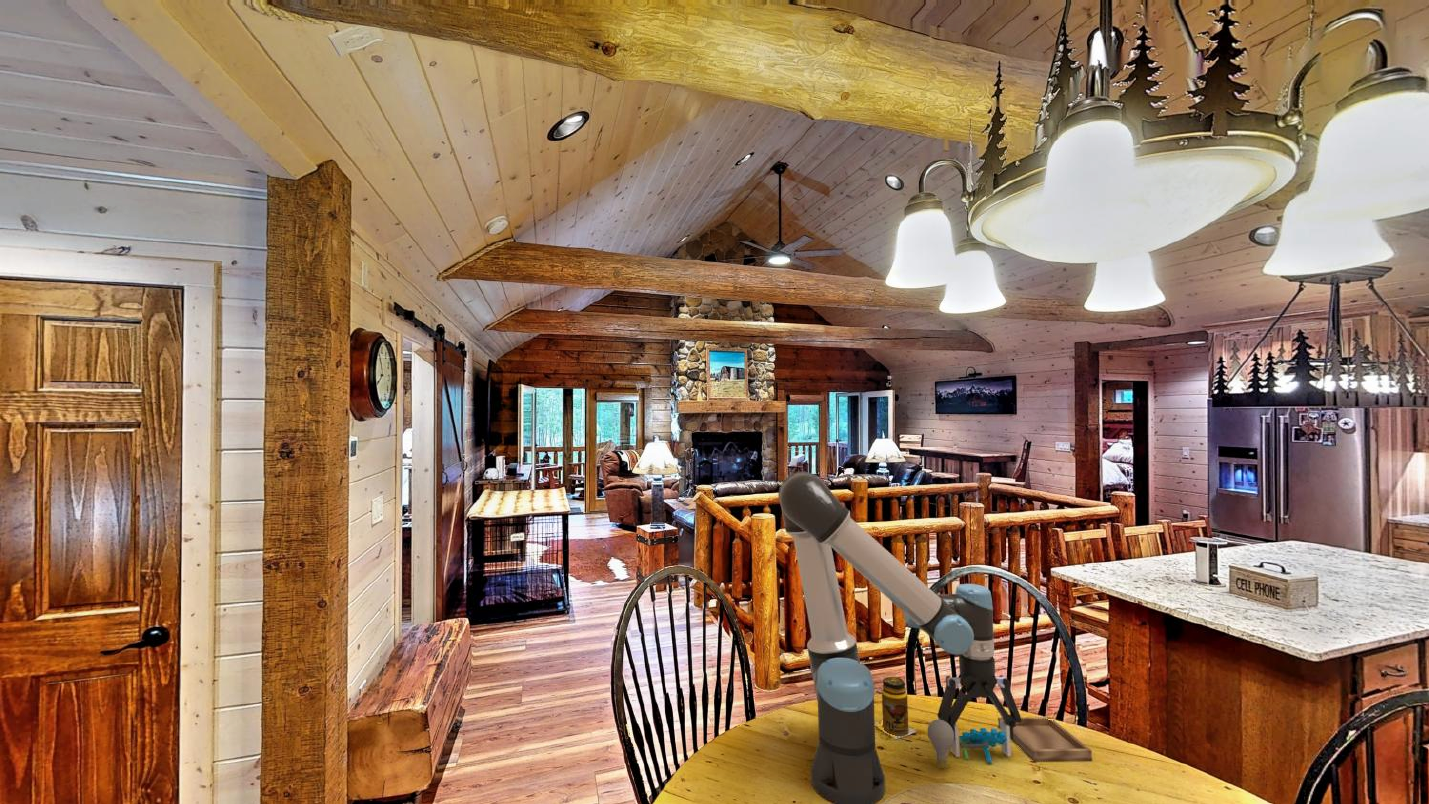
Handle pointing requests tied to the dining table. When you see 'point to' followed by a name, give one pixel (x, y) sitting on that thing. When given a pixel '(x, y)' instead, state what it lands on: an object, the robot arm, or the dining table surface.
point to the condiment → (895, 708)
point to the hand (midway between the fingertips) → (980, 753)
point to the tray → (1048, 741)
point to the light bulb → (941, 740)
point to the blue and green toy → (981, 741)
